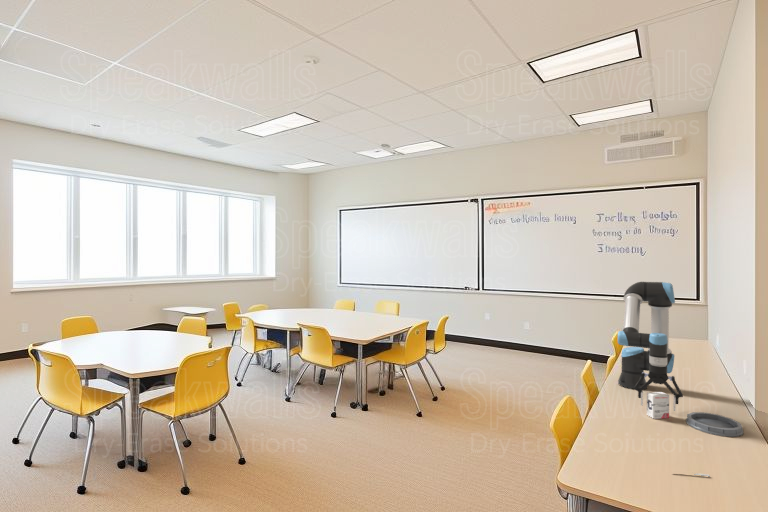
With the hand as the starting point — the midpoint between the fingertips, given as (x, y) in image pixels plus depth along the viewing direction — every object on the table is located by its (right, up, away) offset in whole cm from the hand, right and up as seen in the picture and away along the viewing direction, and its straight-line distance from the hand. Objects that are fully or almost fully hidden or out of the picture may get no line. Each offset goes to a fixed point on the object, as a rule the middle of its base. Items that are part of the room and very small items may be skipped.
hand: (657, 407), depth 208 cm
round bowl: (+19, -5, -12) cm, 22 cm away
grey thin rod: (-23, -6, -54) cm, 59 cm away
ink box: (0, -5, 0) cm, 5 cm away
